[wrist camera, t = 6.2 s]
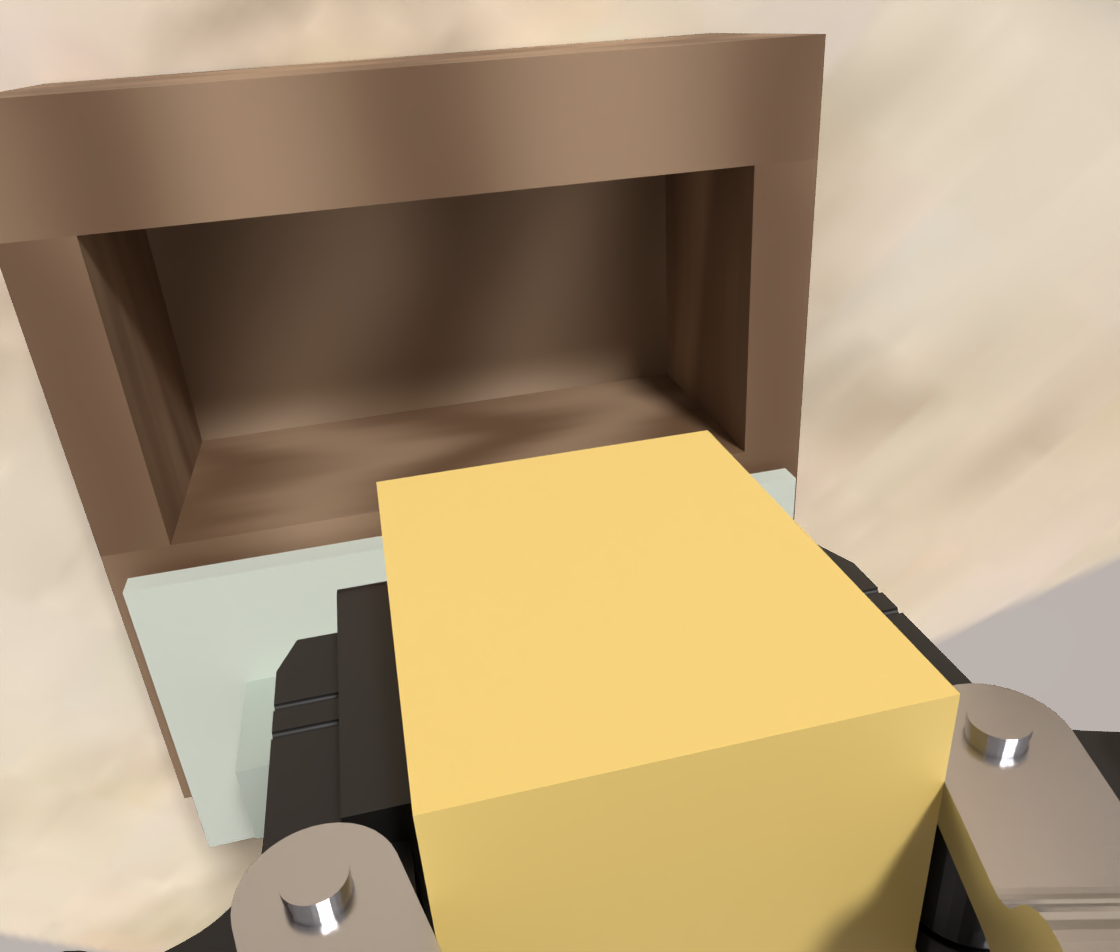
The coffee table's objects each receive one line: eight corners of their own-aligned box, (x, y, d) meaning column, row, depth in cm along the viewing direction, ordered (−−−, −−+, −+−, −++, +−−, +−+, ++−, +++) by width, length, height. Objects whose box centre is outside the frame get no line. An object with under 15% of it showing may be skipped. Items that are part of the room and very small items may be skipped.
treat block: (707, 429, 11) (960, 694, 7) (703, 687, 13) (899, 1027, 8) (376, 482, 10) (413, 815, 6) (422, 746, 12) (475, 1151, 8)
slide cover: (785, 468, 23) (857, 537, 20) (771, 708, 27) (830, 798, 24) (128, 578, 20) (91, 677, 17) (212, 829, 24) (194, 950, 21)
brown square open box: (710, 33, 25) (825, 34, 19) (703, 559, 32) (784, 672, 27) (43, 83, 22) (-57, 102, 16) (211, 650, 29) (184, 798, 24)
